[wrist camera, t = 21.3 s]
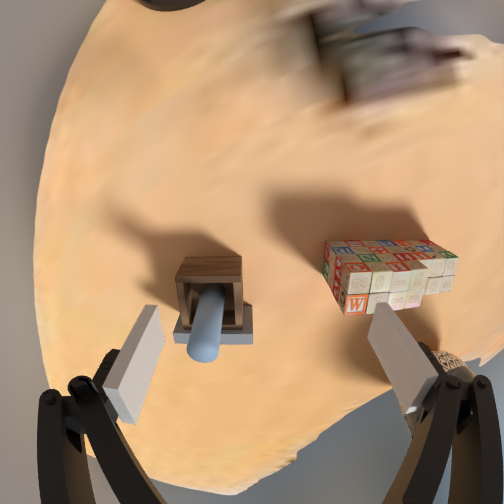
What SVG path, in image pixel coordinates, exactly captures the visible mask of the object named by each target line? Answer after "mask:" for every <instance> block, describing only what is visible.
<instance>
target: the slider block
mask: <svg viewBox="0 0 504 504" xmlns="http://www.w3.org/2000/svg"><path fill="white" fill-rule="evenodd" d="M175 280H176V287H177V293H178V300H179V306H180V312H181V318H182V323H183V329H184V330H191V329H192V325H193V322H194V318H195V314H196V310H197V307H198V303H199V299H200V296H201V292H202V289H203V286H204V285H205V284H206V283H221V284H222V285H223V286H224V288H225V300H224V308H223V317H222V326H221V330H243V282H242V257H185V259H184V261H183V263H182V265H181V266H180V268H179V270H178V272H177V274H176V276H175Z"/></svg>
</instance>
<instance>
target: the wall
mask: <svg viewBox="0 0 504 504" xmlns="http://www.w3.org/2000/svg"><path fill="white" fill-rule="evenodd" d="M190 333H191V330H184V329H183V323H182V318H181V313H180V315H179V318H178V320H177V323H176V326H175V328H174V331H173V336H174V341H175V343H183V344H188V341H189V337H190ZM220 344H253V319H252V306H243V330H221V335H220Z"/></svg>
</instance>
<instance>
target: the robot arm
mask: <svg viewBox="0 0 504 504" xmlns="http://www.w3.org/2000/svg"><path fill="white" fill-rule="evenodd" d="M203 1H205V0H140V2H141V3H142V4H143V5H144V6H146V7H147V8H149V9H152V10H156V11H177V10H182V9H186V8H189V7H192V6H195V5H197V4H199V3H201V2H203ZM367 339H368V340H369V342H370V344H371V346H372V348H373V350H374V352H375V354H376V356H377V358H378V360H379V361H380V363H381V365H382V367H383V369H384V371H385V373H386V375H387V377H388V379H389V381H390V383H391V385H392V387H393V389H394V391H395V393H396V395H397V398H398V400H399V402H400V404H401V406H402V408H403V410H404V412H405V414H407V413H411V412H414V411H417V410H418V408H419V407H420V405H421V404H422V405H423V407H424V409H423V411H422V412H421V414H420V415H419V416H418V418H417V419H416V421H418V420H419V422H418V425H417V428H416V430H415V433H414V436H413V438H412V441H411V444H410V446H409V449H408V451H407V453H406V456H405V458H404V461H403V463H402V465H401V467H400V469H399V471H398V474H397V476H396V478H395V480H394V482H393V484H392V486H391V488H390V490H389V491H388V493H387V495H386V497H385V499H384V501H383V502H382V504H432V503H433V500H434V498H435V495H436V492H437V490H438V487H439V484H440V482H441V479H442V476H443V473H444V470H445V467H446V463H447V460H448V457H449V453H450V449H451V446H452V465H451V480H450V491H449V498H448V504H503V457H502V444H501V435H500V427H499V420H498V414H497V409H496V403H495V398H494V394H493V389H492V385H491V382H490V380H489V379H488V378H487V377H485V376H483V375H477V376H475V377H474V379H473V380H472V382H461V381H460V379H458V378H457V377H455V376H452V375H448V374H447V373H446V372H445V370H444V369H443V367H442V366H441V364H440V363H439V361H438V360H437V359H436V357H435V356H434V354H432V351H431V350H430V349H429V347H428V346H426V345H425V344H424V343H422V342H416V341H415V339H414V338H413V336H412V335H411V334H410V332H409V331H408V329H407V328H406V327H405V325H404V324H403V323H402V321H401V320H400V319H399V317H398V316H397V314H396V313H395V312H394V311H393V309H392V308H391V307H390V305H389V304H388V303H387V302H380V303H376V307H375V311H374V315H373V318H372V322H371V326H370V329H369V333H368V336H367ZM164 343H165V339H164V334H163V330H162V325H161V320H160V315H159V310H158V305H145V307H144V308H143V310H142V312H141V314H140V316H139V317H138V319H137V321H136V323H135V324H134V326H133V328H132V330H131V332H130V334H129V335H128V337H127V339H126V341H125V343H124V345H123V347H122V349H121V350H117V349H112V350H111V351H110V352H108V353H107V354H106V355H105V357H104V359H103V361H102V363H101V364H100V366H99V368H98V370H97V372H96V374H95V375H94V377H93V379H92V380H91V378H89V377H87V376H77V377H75V378H73V379H72V380H71V381H70V382H69V384H68V391H69V393H70V395H71V396H62V395H61V394H60V393H59V391H57V390H55V389H49V390H46V391H45V392H43V393H42V395H41V396H40V399H39V410H38V427H37V462H38V479H39V489H40V498H41V504H96V502H95V498H94V494H93V490H92V485H91V480H90V474H89V469H88V463H87V456H86V449H85V441H84V434H87V437H88V439H89V442H90V444H91V447H92V449H93V451H94V453H95V456H96V458H97V460H98V462H99V464H100V466H101V469H102V471H103V473H104V474H105V477H106V479H107V480H108V482H109V484H110V486H111V488H112V490H113V492H114V493H115V495H116V497H117V498H118V500H119V502H120V503H121V504H167V503H166V501H165V500H164V499H163V497H162V496H161V495H160V493H159V492H158V491H157V489H156V488H155V486H154V485H153V483H152V482H151V480H150V479H149V477H148V476H147V474H146V473H145V471H144V470H143V468H142V467H141V465H140V463H139V462H138V460H137V458H136V457H135V455H134V453H133V452H132V450H131V448H130V446H129V445H128V443H127V441H126V439H125V438H124V436H123V434H122V432H121V430H120V428H119V426H118V424H117V423H116V421H117V418H118V416H119V418H120V419H121V421H122V422H124V423H129V424H134V425H136V424H137V421H138V418H139V415H140V412H141V408H142V405H143V402H144V399H145V396H146V393H147V390H148V388H149V385H150V382H151V379H152V376H153V373H154V370H155V367H156V365H157V362H158V359H159V356H160V354H161V351H162V348H163V345H164ZM419 418H420V419H419Z"/></svg>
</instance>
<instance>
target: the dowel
mask: <svg viewBox="0 0 504 504" xmlns="http://www.w3.org/2000/svg"><path fill="white" fill-rule="evenodd" d="M224 300H225V288H224V286H223V285H222V284H221V283H206V284H205V285H204V286H203V289H202V292H201V296H200V299H199V303H198V307H197V310H196V314H195V318H194V322H193V325H192V329H191V333H190V337H189V341H188V345H187V353H188V355H189V356H190V357H191V358H192V359H194V360H195V361H198V362H203V363H207V362H211V361H213V360H215V359H216V358H217V356H218V353H219V344H220V335H221V326H222V317H223V308H224Z"/></svg>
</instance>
